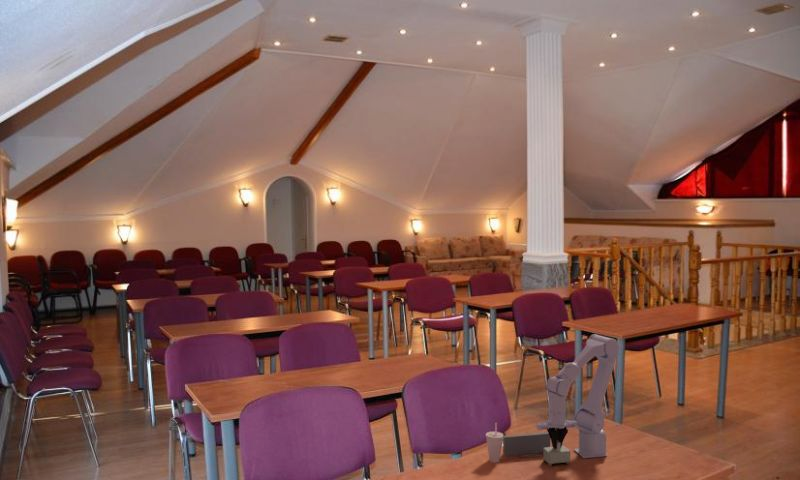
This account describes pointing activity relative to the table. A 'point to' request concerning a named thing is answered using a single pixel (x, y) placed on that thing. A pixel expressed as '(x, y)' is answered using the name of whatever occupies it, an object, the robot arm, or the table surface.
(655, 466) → the table surface
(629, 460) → the table surface
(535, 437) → the wall board
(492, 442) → the smoothie
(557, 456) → the grey block
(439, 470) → the table surface
